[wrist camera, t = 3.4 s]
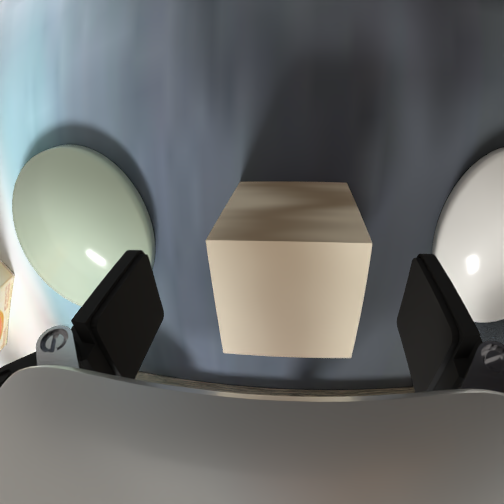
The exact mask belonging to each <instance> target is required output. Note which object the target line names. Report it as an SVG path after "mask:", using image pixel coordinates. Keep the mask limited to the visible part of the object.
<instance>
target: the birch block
mask: <svg viewBox="0 0 504 504" xmlns="http://www.w3.org/2000/svg"><path fill="white" fill-rule="evenodd" d="M206 245H207V252H208V259H209V266H210V272H211V279H212V286H213V292H214V298H215V305H216V311H217V317H218V323H219V329H220V335H221V341H222V346H223V352H224V353H232V354H244V355H259V356H278V357H304V358H351V356H352V352H353V347H354V343H355V338H356V334H357V329H358V324H359V320H360V315H361V310H362V304H363V299H364V293H365V288H366V282H367V276H368V270H369V263H370V257H371V250H372V241H371V239H370V236H369V234H368V231H367V229H366V226H365V224H364V221H363V219H362V217H361V214H360V212H359V209H358V207H357V205H356V202H355V200H354V198H353V196H352V193H351V191H350V189H349V187H348V185H347V183H339V182H289V181H264V182H240V183H239V184H238V186H237V188H236V189H235V191H234V193H233V194H232V196H231V198H230V199H229V201H228V203H227V205H226V206H225V208H224V210H223V211H222V213H221V215H220V217H219V218H218V220H217V222H216V223H215V225H214V227H213V229H212V230H211V232H210V234H209V236H208V237H207V239H206Z"/></svg>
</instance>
